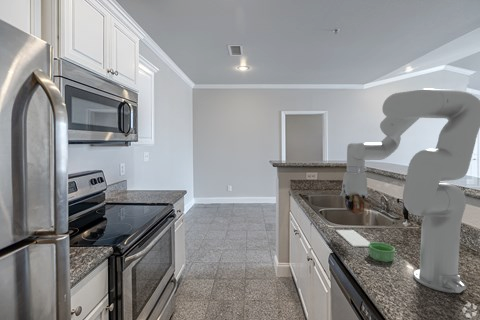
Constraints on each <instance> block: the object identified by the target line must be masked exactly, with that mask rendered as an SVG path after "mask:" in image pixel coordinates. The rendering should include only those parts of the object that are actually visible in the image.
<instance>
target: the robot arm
mask: <svg viewBox="0 0 480 320" xmlns="http://www.w3.org/2000/svg"><path fill="white" fill-rule="evenodd" d="M381 107H382V113H383V115H384V116H385V117H384V119H383V120H382V121H381V122H380V124H379V128H380V130H381V132H382V133H383V134H384V135H385V138H383V139H382V140H381V141H380V142H360V143H359V142H358V143H357V142H356V143H355V142H353V143H352V142H351V143H348V144H347V148H346V172H344V174H343V177H342V178H343V179H342V185H341V192H340V196H341V197H343V198H344V199H345V198H346V199H347V200H348V209H350V210H353V202H352V195H359V196H361V197H362V198H363V200H364V199H365V198H368V197H369V196H370V193H369V191H368V179H367V174H366V171H367V172H368V167H366V165H365V164H366V163H365V161H382V160H385V159H387V158H388V157H389V156H391V155H392V154H393V153H394V152H395V151H396V150H397V149H398V148H399V146H400V143H401V140H402V139H401V138H402V137H401V136H403V134H404V133H405V132H406V131H408V130H409V129H410V128H411V127H412V126H413V125H414V124H415V123H416V122H418V120H419V119H422V118H424V119H446V120H447V122H446V123H445V124H444V126H443V127H442V128H441V129H440V132H439V134H438V140H437V143H436V147H435V148H426V149H422V150H419V151H417V153H415V154H414V155H413V156H412V158H411V159H410V162H409V163H408V168H407V173H406V176H405V177H406V178H405V183H404V188H403V191H402V202H403V205H404V207H405V209H406V210H407V211H408V212H409V213H411V214H412V215H415V216H419V217H420V216H421V217H422V216H423V219H422V223H421V230H420V231H421V232H420V252H419V253H420V254H419V268H418V269H416V270H414V271H413V278H414V279H415V281H417V282H418V283H420V284H421V285H423V286H424V287H427V288H430V289H432V290H435V291H438V292H442V293H443V292H444V293H451V294H460V293H462V292H463V291H465V290H466V289H467V285H465V284H464V283H463V282H462V281H461V276H460V275H459V258H460V257H459V256H460V241H461V227H462V220H463V217H464V213H465V209H466V204H467V197H466V194H465V193H464V191H463V190H462V189H461V188H460V187H458V186H457V185H455V184H452V183H448V182H443V181H456V180H461V179H463V178H464V177H465V176H466V175H467V174H468V171H469V169H470V166H471V161H472V157H473V153H474V149H475V146H476V142H477V141H476V140H477V137H478V134H479V131H480V99H479V98H478V97H476V96H475V95H473V94H472V93H469V92H466V91H462V90H456V89H442V88H441V89H440V88H439V89H438V88H422V89H421V88H420V89H414V90H407V91H401V92H395V93H393V94H391V95H389V96H388V97H386V99H384V102H383V104H382V106H381ZM346 194H347V195H346Z"/></svg>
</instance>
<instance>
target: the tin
mask: <svg viewBox="0 0 480 320" xmlns="http://www.w3.org/2000/svg"><path fill="white" fill-rule="evenodd" d="M345 195H347V194H346V193H345ZM344 202H345V203H344V205H345V208H346V210H347V211H349V212H350V213H352V214H354V215H362V214H363V213H364V211H365V200H364V199H363V198H362V197H361V196H359V195H352V202H353V210H350V209H348V200H347V199H346V198H345V197H344Z"/></svg>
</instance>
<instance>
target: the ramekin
mask: <svg viewBox="0 0 480 320" xmlns="http://www.w3.org/2000/svg"><path fill="white" fill-rule="evenodd" d="M368 248H369V249H368V250H369V253H368V254H369V256H370V258H372V259H373V260H375V261H378V262H383V263H387V262H388V263H390V262H392V261H393V260H394V255H395V251H396V248H395V247H394V246H392V245H391V244H387V243H384V242H379V241H377V242H375V241H374V242H370V243H369V247H368Z"/></svg>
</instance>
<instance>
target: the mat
mask: <svg viewBox="0 0 480 320" xmlns="http://www.w3.org/2000/svg"><path fill="white" fill-rule="evenodd" d="M335 232H336V233H337V234H338V235H339V236H341V237H342V239H344V240H345V241H346V242H347V243H348V244H349V245H350V246H351V247H353V248H369V243H371V242H370V241H369V240H368V239H366V238H364V237H363V236H362V235H361V234H360V233H358V232H357V231H355V230H353V229H336V230H335Z"/></svg>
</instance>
